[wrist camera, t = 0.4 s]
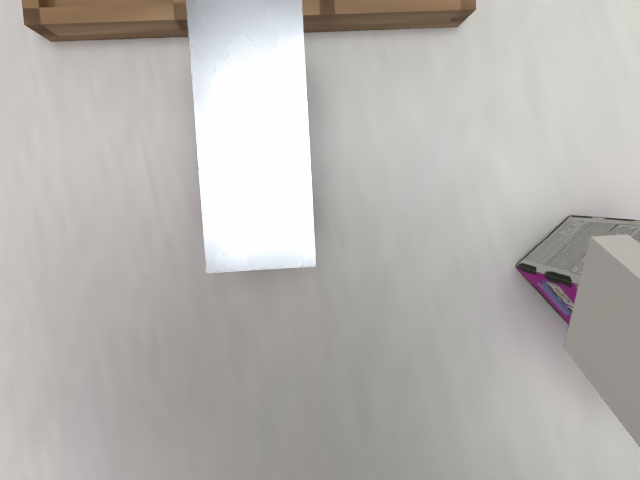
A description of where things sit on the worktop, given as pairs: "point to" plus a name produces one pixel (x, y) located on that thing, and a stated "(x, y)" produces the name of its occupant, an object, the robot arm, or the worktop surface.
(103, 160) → the worktop surface
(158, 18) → the bay rack
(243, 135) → the panel
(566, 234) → the candy bar box
